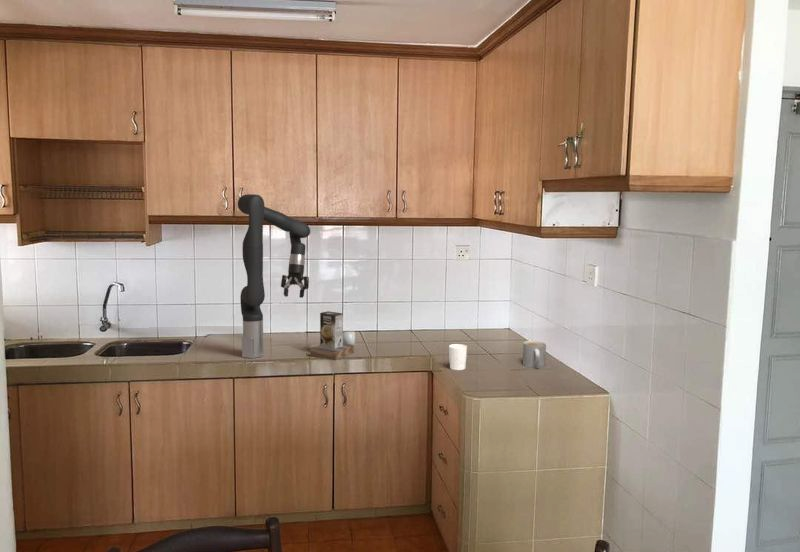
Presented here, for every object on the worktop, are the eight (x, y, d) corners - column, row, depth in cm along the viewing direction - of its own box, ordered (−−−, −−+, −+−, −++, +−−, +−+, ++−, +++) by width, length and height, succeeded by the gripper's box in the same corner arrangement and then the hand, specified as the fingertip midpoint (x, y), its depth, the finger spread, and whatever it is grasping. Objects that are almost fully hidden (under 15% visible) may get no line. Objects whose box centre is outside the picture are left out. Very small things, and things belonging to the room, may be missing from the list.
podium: (335, 360, 297) (335, 351, 297) (310, 356, 304) (310, 348, 303) (353, 352, 311) (353, 344, 311) (329, 349, 318) (329, 341, 317)
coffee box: (319, 346, 307) (319, 312, 305) (327, 343, 312) (327, 310, 310) (335, 348, 302) (334, 314, 300) (343, 346, 308) (343, 312, 305)
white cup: (445, 366, 288) (445, 344, 286) (461, 365, 291) (461, 343, 289) (454, 371, 280) (454, 348, 279) (469, 369, 284) (470, 347, 282)
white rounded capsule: (351, 350, 317) (351, 334, 316) (340, 348, 319) (340, 332, 318) (357, 347, 322) (357, 331, 321) (347, 346, 325) (347, 330, 324)
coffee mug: (523, 361, 298) (523, 340, 297) (545, 362, 296) (545, 341, 294) (522, 369, 285) (522, 347, 284) (545, 370, 283) (546, 348, 282)
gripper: (280, 262, 316) (276, 295, 314) (305, 263, 310) (302, 297, 309) (288, 264, 322) (285, 296, 321) (313, 265, 317) (310, 298, 316)
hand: (293, 297), depth 315 cm, fingers open, 8 cm apart
